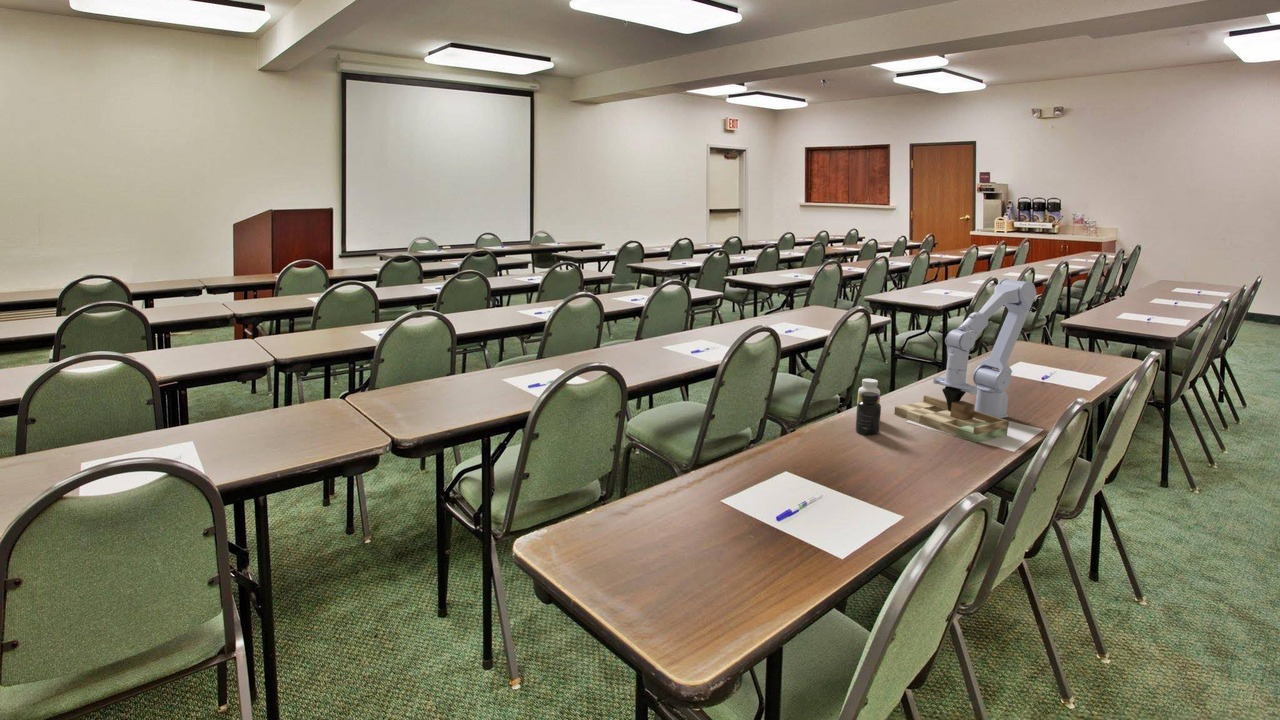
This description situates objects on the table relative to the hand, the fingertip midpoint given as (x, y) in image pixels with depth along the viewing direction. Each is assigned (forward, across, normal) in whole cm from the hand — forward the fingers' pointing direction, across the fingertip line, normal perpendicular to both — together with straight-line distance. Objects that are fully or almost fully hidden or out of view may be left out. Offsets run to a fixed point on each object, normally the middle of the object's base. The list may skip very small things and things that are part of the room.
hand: (951, 410), depth 221 cm
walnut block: (+1, +4, 0) cm, 4 cm away
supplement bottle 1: (+4, -13, -22) cm, 26 cm away
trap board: (+3, +2, -3) cm, 5 cm away
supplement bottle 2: (+4, -4, -31) cm, 32 cm away
